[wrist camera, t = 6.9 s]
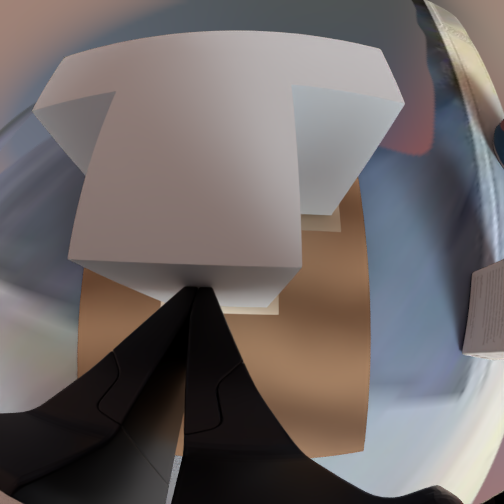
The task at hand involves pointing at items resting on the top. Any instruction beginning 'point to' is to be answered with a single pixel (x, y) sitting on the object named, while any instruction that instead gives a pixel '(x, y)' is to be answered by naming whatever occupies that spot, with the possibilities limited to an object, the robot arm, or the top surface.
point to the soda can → (499, 142)
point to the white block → (213, 153)
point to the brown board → (280, 334)
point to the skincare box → (486, 314)
